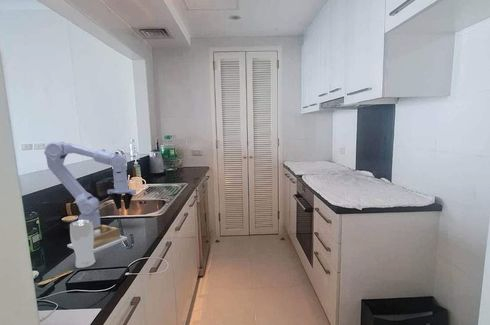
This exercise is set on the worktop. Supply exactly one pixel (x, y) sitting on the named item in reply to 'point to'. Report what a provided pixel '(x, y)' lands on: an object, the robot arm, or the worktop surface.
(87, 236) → the beer glass
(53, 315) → the worktop surface
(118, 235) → the wood collar
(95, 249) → the post stand
